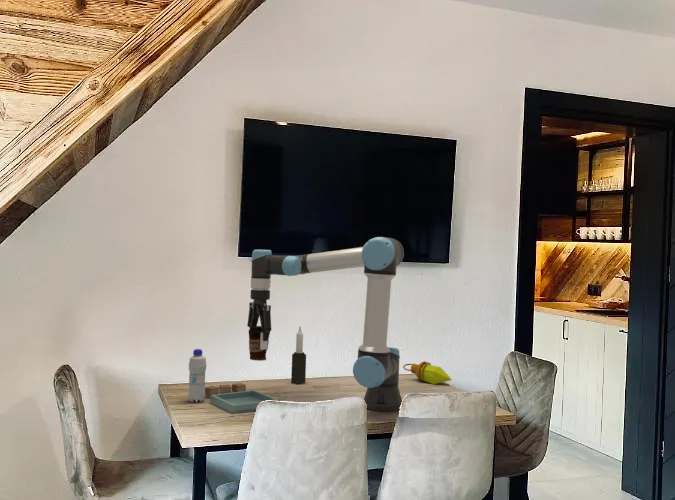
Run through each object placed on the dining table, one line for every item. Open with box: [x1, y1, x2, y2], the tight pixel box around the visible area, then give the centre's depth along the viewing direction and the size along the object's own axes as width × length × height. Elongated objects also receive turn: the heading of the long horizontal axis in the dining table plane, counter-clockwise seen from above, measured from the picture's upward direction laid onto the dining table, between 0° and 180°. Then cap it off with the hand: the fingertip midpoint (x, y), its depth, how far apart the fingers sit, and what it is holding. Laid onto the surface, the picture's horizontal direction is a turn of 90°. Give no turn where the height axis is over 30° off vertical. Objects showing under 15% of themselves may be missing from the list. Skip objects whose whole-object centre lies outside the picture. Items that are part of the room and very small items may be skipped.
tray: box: [209, 389, 280, 415], centre depth 253 cm, size 19×19×3 cm
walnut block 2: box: [218, 384, 232, 394], centre depth 268 cm, size 4×4×4 cm
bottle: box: [187, 348, 207, 404], centre depth 257 cm, size 7×7×20 cm
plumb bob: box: [402, 360, 453, 385], centre depth 308 cm, size 9×9×25 cm
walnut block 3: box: [231, 382, 247, 393], centre depth 272 cm, size 4×4×4 cm
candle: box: [290, 326, 307, 385], centre depth 297 cm, size 5×5×25 cm
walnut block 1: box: [205, 385, 219, 399], centre depth 265 cm, size 4×4×4 cm
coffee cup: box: [248, 325, 271, 362], centre depth 262 cm, size 9×8×13 cm
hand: (258, 347), depth 262 cm, fingers closed on coffee cup, 8 cm apart
